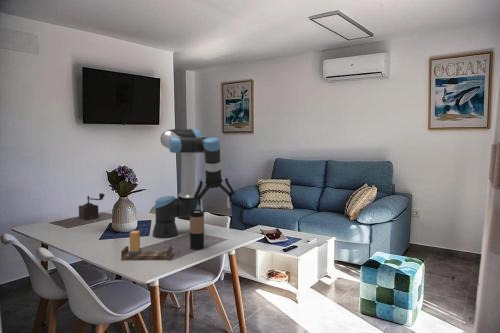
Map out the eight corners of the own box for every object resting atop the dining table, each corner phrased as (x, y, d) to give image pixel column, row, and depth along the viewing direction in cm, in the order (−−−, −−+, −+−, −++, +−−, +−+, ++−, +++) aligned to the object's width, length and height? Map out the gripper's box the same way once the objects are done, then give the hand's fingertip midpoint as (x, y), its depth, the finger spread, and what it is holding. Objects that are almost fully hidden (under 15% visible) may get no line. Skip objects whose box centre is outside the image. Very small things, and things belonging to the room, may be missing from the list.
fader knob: (128, 254, 177) (128, 233, 176) (132, 251, 183) (132, 230, 182) (138, 254, 177) (137, 233, 176) (141, 250, 183) (140, 230, 182)
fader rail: (121, 260, 176) (121, 251, 175) (126, 254, 184) (126, 246, 183) (169, 259, 177) (169, 250, 177) (172, 254, 185) (172, 245, 185)
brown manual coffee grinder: (85, 220, 258) (84, 195, 257) (78, 218, 266) (77, 193, 264) (106, 217, 270) (105, 193, 268) (99, 215, 277) (98, 191, 276)
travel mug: (190, 245, 201) (190, 209, 199) (204, 245, 201) (204, 209, 200) (189, 249, 193) (189, 212, 191) (203, 249, 194) (203, 212, 192)
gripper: (187, 175, 171) (191, 215, 178) (239, 169, 176) (240, 209, 183) (186, 169, 178) (189, 208, 185) (236, 164, 183) (237, 202, 190)
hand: (215, 208), depth 184 cm, fingers open, 13 cm apart
